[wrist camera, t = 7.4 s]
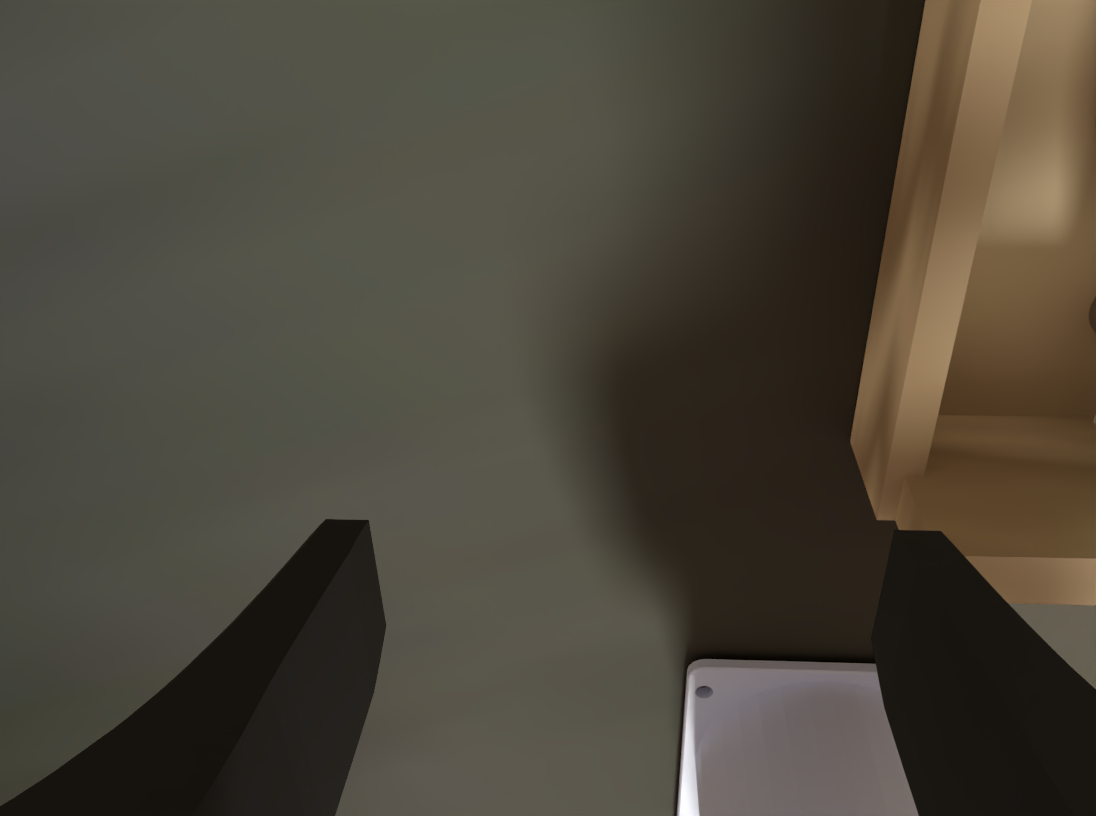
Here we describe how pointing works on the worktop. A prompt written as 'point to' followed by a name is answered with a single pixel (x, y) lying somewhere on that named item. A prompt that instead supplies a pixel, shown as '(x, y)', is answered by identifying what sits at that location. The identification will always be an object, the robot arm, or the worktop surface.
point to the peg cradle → (992, 300)
